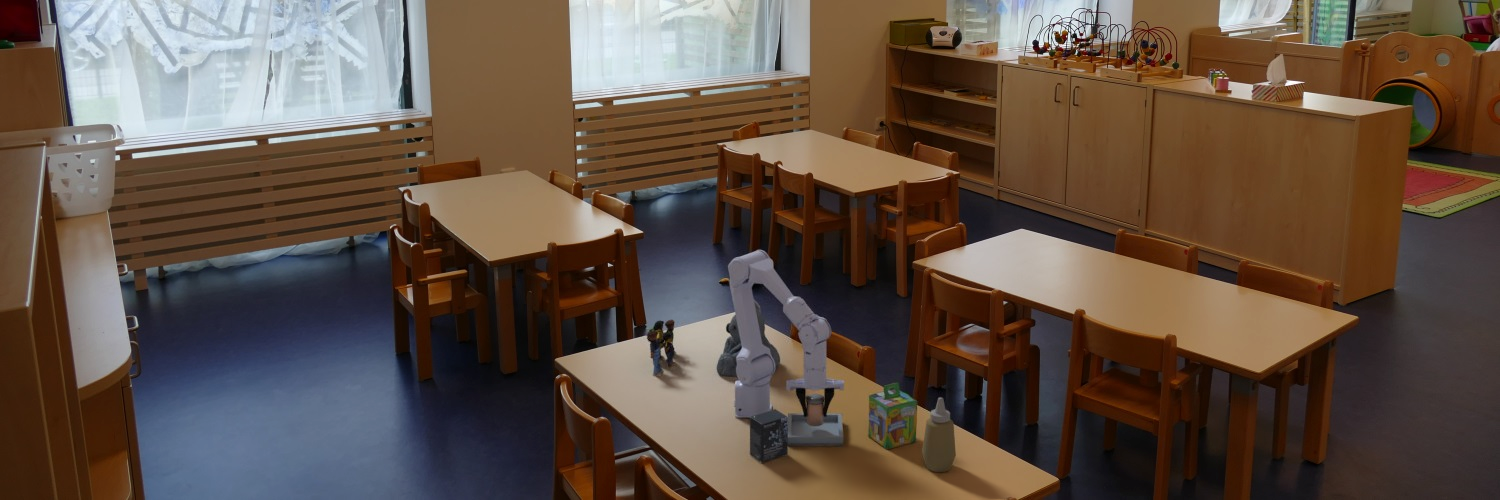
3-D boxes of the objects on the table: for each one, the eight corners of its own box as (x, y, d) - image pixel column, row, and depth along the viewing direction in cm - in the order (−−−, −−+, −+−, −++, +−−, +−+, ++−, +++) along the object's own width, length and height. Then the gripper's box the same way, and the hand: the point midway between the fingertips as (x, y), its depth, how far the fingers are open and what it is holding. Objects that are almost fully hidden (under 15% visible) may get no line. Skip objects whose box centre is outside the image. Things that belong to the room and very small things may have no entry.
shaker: (805, 426, 298) (805, 401, 296) (806, 418, 303) (806, 393, 301) (824, 426, 298) (824, 401, 296) (824, 418, 302) (824, 393, 300)
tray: (787, 445, 295) (787, 437, 294) (788, 421, 308) (787, 413, 307) (843, 446, 294) (843, 437, 293) (841, 421, 307) (841, 413, 307)
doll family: (679, 379, 336) (678, 335, 332) (648, 380, 335) (646, 337, 332) (675, 349, 358) (674, 308, 354) (646, 350, 357) (644, 309, 353)
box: (762, 463, 286) (761, 424, 283) (749, 455, 290) (748, 416, 287) (788, 455, 290) (788, 416, 287) (775, 446, 294) (775, 408, 291)
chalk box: (887, 450, 291) (888, 395, 287) (866, 436, 299) (867, 382, 295) (917, 442, 295) (919, 388, 291) (896, 428, 303) (898, 375, 299)
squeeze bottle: (918, 460, 286) (920, 392, 281) (950, 458, 287) (953, 390, 281) (925, 476, 278) (927, 406, 273) (959, 474, 279) (962, 404, 274)
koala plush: (724, 354, 353) (723, 293, 348) (783, 357, 351) (783, 295, 345) (714, 377, 337) (713, 313, 331) (777, 380, 334) (776, 315, 329)
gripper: (786, 371, 292) (786, 421, 296) (844, 371, 291) (844, 421, 295) (786, 361, 299) (786, 409, 303) (843, 361, 298) (843, 410, 302)
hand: (815, 415), depth 299 cm, fingers closed on shaker, 4 cm apart
